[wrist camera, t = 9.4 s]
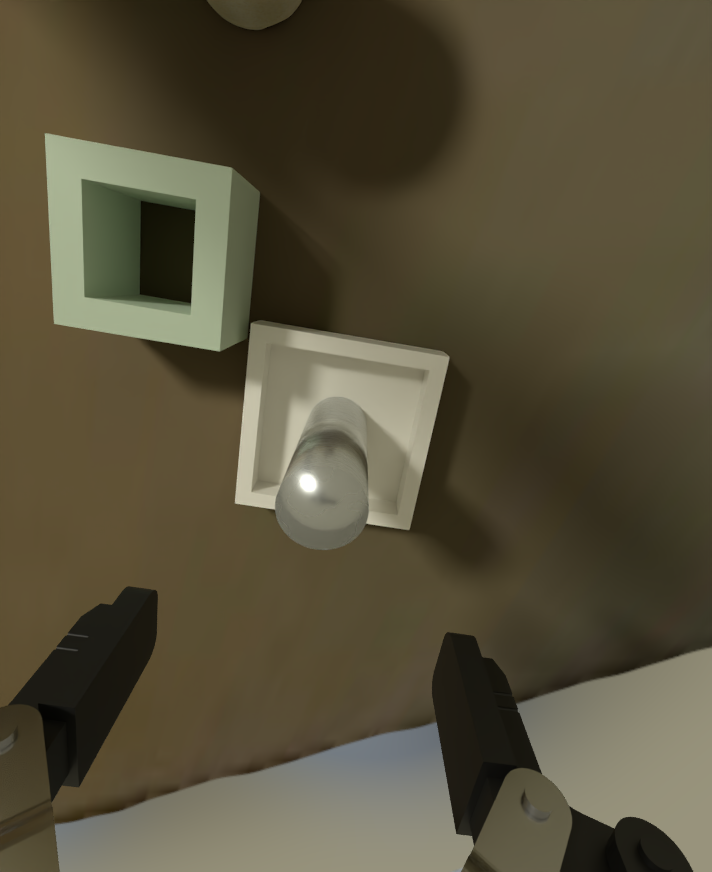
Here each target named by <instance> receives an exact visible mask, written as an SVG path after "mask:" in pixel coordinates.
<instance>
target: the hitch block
mask: <svg viewBox="0 0 712 872" xmlns="http://www.w3.org/2000/svg"><path fill="white" fill-rule="evenodd" d="M45 146H46V167H47V188H48V208H49V229H50V250H51V270H52V291H53V312H54V324H59V325H65V326H71V327H77V328H83V329H89V330H95V331H101V332H106V333H112V334H118V335H124V336H130V337H136V338H142V339H148V340H154V341H160V342H166V343H172V344H178V345H184V346H190V347H196V348H202V349H208V350H214V351H222V350H224V349H226V348H228V347H230V346H232V345H234V344H237V343H239V342H241V341H243V340H245V339H247V338H248V326H249V315H250V304H251V292H252V281H253V269H254V258H255V246H256V235H257V223H258V212H259V200H260V192H259V191H258V190H257V189H256V188H255V187H254V186H252V185H251V184H250V183H249V182H248V181H247V180H246V179H245V178H243V177H242V176H241V175H240V174H239V173H238V172H237V171H235V170H234V169H233V168H231V167H226V166H220V165H215V164H209V163H204V162H198V161H193V160H188V159H182V158H177V157H171V156H166V155H160V154H155V153H150V152H144V151H139V150H133V149H128V148H122V147H117V146H111V145H106V144H101V143H95V142H90V141H84V140H79V139H73V138H68V137H62V136H57V135H52V134H46V133H45ZM141 201H145V202H150V203H156V204H162V205H167V206H173V207H178V208H184V209H189V210H195V211H196V213H195V234H194V256H193V277H192V299H191V303H187V302H181V301H175V300H169V299H164V298H158V297H152V296H146V295H140V229H141Z"/></svg>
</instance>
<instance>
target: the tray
mask: <svg viewBox="0 0 712 872" xmlns="http://www.w3.org/2000/svg"><path fill="white" fill-rule="evenodd" d="M449 358H450V357H449V356H448V355H447V354H446V353H444V352H443V351H439V350H433V349H427V348H421V347H416V346H410V345H404V344H398V343H392V342H386V341H381V340H375V339H369V338H363V337H357V336H351V335H345V334H340V333H334V332H328V331H322V330H316V329H310V328H305V327H299V326H293V325H287V324H281V323H275V322H270V321H264V320H258V321H256V322H253V323H251V328H250V339H249V350H248V362H247V373H246V384H245V395H244V407H243V418H242V429H241V440H240V452H239V463H238V474H237V485H236V497H235V503H237V504H243V505H249V506H256V507H262V508H269V509H275V501H276V496H277V493H278V490H279V488H280V486H281V483H282V481H283V478H284V476H285V473H286V471H287V468H288V466H289V464H290V461H291V459H292V456H293V454H294V451H295V449H296V446H297V444H298V441H299V439H300V437H301V434H302V432H303V429H304V427H305V424H306V422H307V419H308V417H309V415H310V412H311V410H312V409H313V408H314V406H315V405H316V404H317V403H319V402H320V401H322V400H324V399H326V398H329V397H344V398H347V399H350V400H352V401H353V402H355V403H356V404H357V405H358V406H359V407H360V408H361V409H362V411H363V412H364V415H365V417H366V422H367V458H368V498H369V514H368V519H367V522H366V524H372V525H378V526H385V527H391V528H398V529H404V530H410V526H411V521H412V517H413V513H414V509H415V504H416V500H417V496H418V491H419V487H420V483H421V478H422V474H423V470H424V466H425V461H426V457H427V453H428V448H429V444H430V440H431V435H432V431H433V427H434V423H435V418H436V414H437V410H438V405H439V401H440V397H441V393H442V388H443V384H444V380H445V375H446V371H447V367H448V362H449Z"/></svg>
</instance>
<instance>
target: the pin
mask: <svg viewBox="0 0 712 872" xmlns="http://www.w3.org/2000/svg"><path fill="white" fill-rule="evenodd" d="M275 513H276V517H277V520H278V522H279V525H280V526H281V528H282V529H283V531H284V532H285V533H286V534H287V535H288V536H289V537H290V538H291V539H292V540H294V541H295V542H297V543H298V544H300V545H302V546H305V547H308V548H312V549H317V550H330V549H335V548H339V547H342V546H344V545H346V544H348V543H350V542H351V541H353V540H354V539H355V538H356V537H357V536H358V535H359V534H360V533H361V532H362V530H363V528H364V527H365V525H366V522H367V519H368V514H369V498H368V458H367V422H366V417H365V415H364V412H363V411H362V409H361V408H360V407H359V406H358V405H357V404H356V403H355V402H353V401H352V400H350V399H347V398H344V397H329V398H326V399H324V400H322V401H320V402H319V403H317V404H316V405H315V406H314V408H313V409H312V410H311V412H310V415H309V417H308V419H307V422H306V424H305V427H304V429H303V432H302V434H301V437H300V439H299V441H298V444H297V446H296V449H295V451H294V454H293V456H292V459H291V461H290V464H289V466H288V468H287V471H286V473H285V476H284V478H283V481H282V483H281V486H280V488H279V490H278V493H277V496H276V501H275Z"/></svg>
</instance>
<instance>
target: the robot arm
mask: <svg viewBox="0 0 712 872" xmlns="http://www.w3.org/2000/svg"><path fill="white" fill-rule="evenodd" d="M157 603H158V594H157V591H156V590H151V589H144V588H136V587H129V586H128V587H126V588H125V589H124V590H123V591H122V592H121V594H120V595H119V596H118V598H117V599H116V600H115V602H114V603H113V604H112V605H108V604H99V605H98V606H96V607H95V608H93V609H92V610H90V611H89V612H87V613H86V614H84V615H83V616H81V617H80V619H79V620H78V621H77V622H76V624H75V625H74V626H73V627H72V628H71V630H70V631H69V632H68V635H67V636H65V637H64V638H63V639H62V641H61V642H60V643H59V644H58V645H57V648H56V650H53V652H52V653H51V654H50V655H49V656H48V658H47V659H46V660H45V661H44V663H43V664H42V665H41V666H40V667H39V669H38V670H37V671H36V672H35V673H34V675H33V676H32V677H31V678H30V680H29V681H28V682H27V683H26V684H25V686H24V687H23V688H22V689H21V691H20V692H19V693H18V694H17V695H16V697H15V698H14V699H13V700H12V701H11V703H10V704H9V705H8V706H4V707H1V708H0V872H60V870H59V861H58V852H57V843H56V835H55V825H54V816H53V808H52V804H51V803H52V801H53V799H54V798H55V796H56V794H57V793H58V791H59V789H60V787H61V786H62V785H64V786H72V787H79V786H80V785H81V783H82V781H83V779H84V777H85V776H86V774H87V772H88V770H89V768H90V766H91V765H92V763H93V761H94V759H95V757H96V756H97V754H98V752H99V750H100V748H101V746H102V745H103V743H104V741H105V739H106V737H107V736H108V734H109V732H110V730H111V728H112V726H113V725H114V723H115V721H116V719H117V717H118V716H119V714H120V712H121V710H122V708H123V706H124V705H125V703H126V701H127V699H128V697H129V696H130V694H131V692H132V690H133V688H134V686H135V685H136V683H137V681H138V679H139V677H140V676H141V674H142V672H143V670H144V668H145V666H146V665H147V663H148V661H149V659H150V657H151V655H152V652H153V649H154V646H155V642H156V635H157ZM432 697H433V703H434V709H435V715H436V720H437V726H438V732H439V737H440V743H441V749H442V754H443V760H444V766H445V772H446V777H447V783H448V789H449V795H450V800H451V806H452V812H453V817H454V823H455V829H456V834H461V835H469V836H472V838H473V843H474V848H473V850H472V852H471V854H470V855H469V857H468V859H467V861H466V863H465V865H464V867H463V869H462V871H461V872H693V870H692V868H691V866H690V864H689V863H688V861H687V859H686V858H685V856H684V855H683V853H682V852H681V850H680V849H679V848H678V847H677V845H676V844H675V843H674V842H673V841H672V840H671V839H670V838H669V837H668V836H667V835H666V834H665V833H664V832H662V831H661V830H660V829H659V828H657V827H656V826H654V825H652V824H651V823H649V822H647V821H645V820H643V819H640V818H636V817H626V818H623V819H621V820H620V821H619V822H618V823H617V825H616V827H615V829H614V828H612V827H610V826H608V825H605V824H603V823H601V822H599V821H597V820H595V819H593V818H590V817H588V816H586V815H584V814H582V813H580V812H578V811H576V810H574V809H573V808H571V807H570V806H569V805H568V803H567V801H566V799H565V797H564V796H563V794H562V793H561V791H560V790H559V789H558V788H557V786H556V785H555V784H554V783H552V781H550V780H549V779H548V778H547V777H545V776H544V775H542V773H541V770H540V768H539V765H538V762H537V760H536V757H535V754H534V751H533V749H532V746H531V743H530V741H529V738H528V735H527V732H526V730H525V727H524V724H523V722H522V719H521V716H520V713H518V708H517V705H516V703H515V700H514V697H512V692H511V689H510V686H509V684H508V681H507V678H506V675H505V674H504V673H503V672H502V670H501V669H500V668H499V667H498V665H497V664H496V663H495V661H494V660H493V659H491V658H483V657H482V656H481V653H480V650H479V647H478V644H477V641H476V638H475V637H474V636H471V635H464V634H457V633H449V632H447V633H446V634H445V636H444V639H443V643H442V646H441V650H440V653H439V657H438V660H437V663H436V667H435V670H434V674H433V681H432Z"/></svg>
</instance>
